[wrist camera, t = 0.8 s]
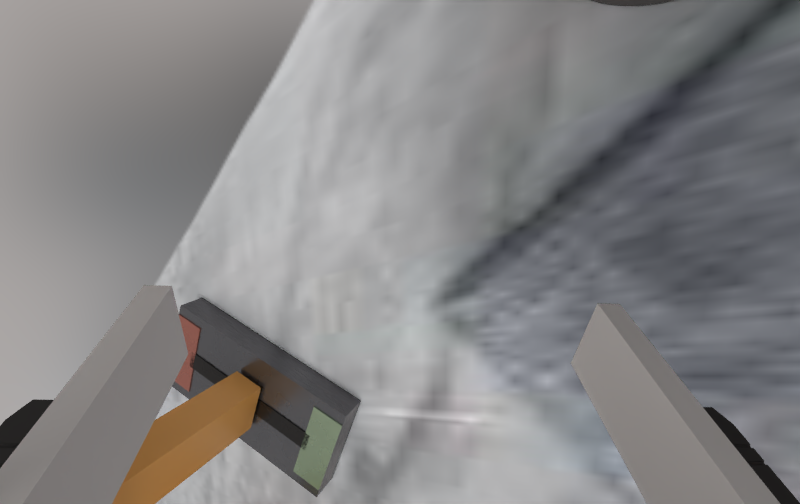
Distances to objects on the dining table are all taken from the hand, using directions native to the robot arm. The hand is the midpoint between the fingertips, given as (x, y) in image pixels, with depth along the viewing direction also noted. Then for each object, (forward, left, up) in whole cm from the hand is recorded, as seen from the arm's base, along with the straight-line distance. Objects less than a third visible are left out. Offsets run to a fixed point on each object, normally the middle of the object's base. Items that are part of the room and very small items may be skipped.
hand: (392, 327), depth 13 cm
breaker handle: (+24, -15, -14) cm, 32 cm away
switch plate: (+24, -15, -17) cm, 33 cm away
